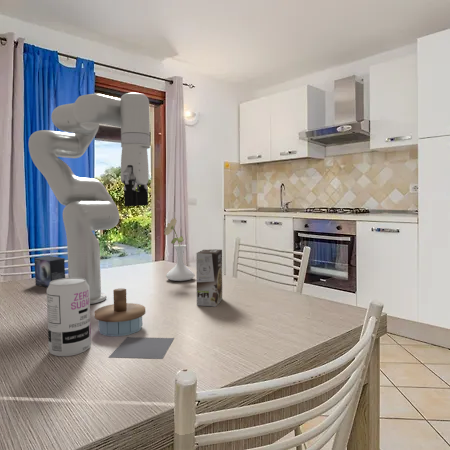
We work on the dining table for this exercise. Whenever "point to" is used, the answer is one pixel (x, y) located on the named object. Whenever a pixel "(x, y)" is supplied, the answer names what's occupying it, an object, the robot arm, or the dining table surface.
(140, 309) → the lid
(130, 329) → the bowl
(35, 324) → the dining table surface
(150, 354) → the mat
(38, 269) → the small box
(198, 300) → the coffee box
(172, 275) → the flower in vase
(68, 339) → the supplement can
